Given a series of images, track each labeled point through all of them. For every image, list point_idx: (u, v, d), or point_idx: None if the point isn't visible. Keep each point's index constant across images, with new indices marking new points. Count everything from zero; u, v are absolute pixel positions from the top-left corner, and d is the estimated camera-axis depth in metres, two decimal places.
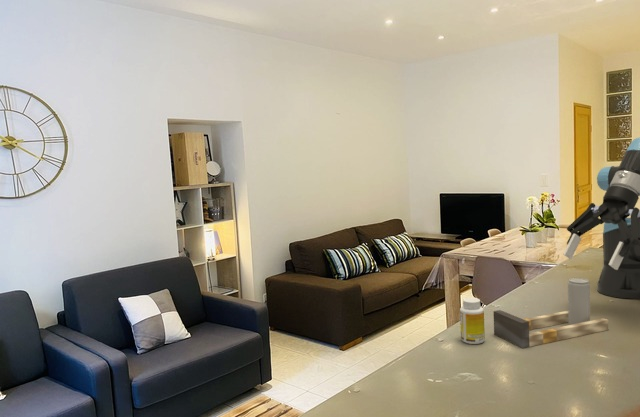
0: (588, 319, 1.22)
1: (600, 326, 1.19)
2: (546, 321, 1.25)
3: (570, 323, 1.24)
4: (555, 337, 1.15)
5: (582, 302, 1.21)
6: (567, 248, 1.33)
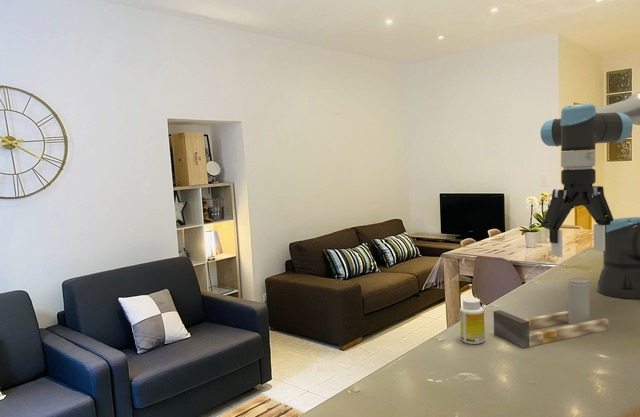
0: (588, 319, 1.22)
1: (600, 326, 1.19)
2: (546, 321, 1.25)
3: (570, 323, 1.24)
4: (555, 337, 1.15)
5: (582, 302, 1.21)
6: (561, 249, 1.19)
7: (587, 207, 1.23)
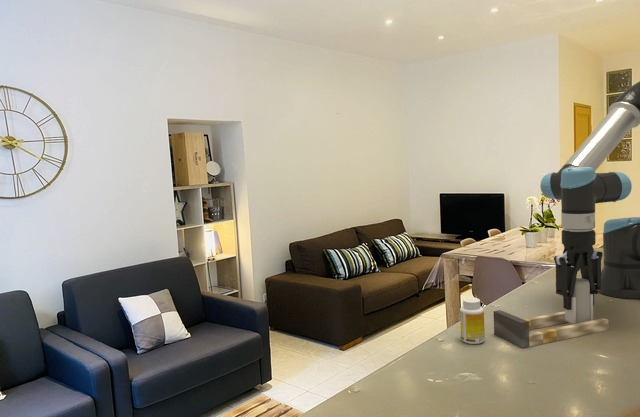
0: (588, 319, 1.22)
1: (600, 326, 1.19)
2: (546, 321, 1.25)
3: (570, 323, 1.24)
4: (555, 337, 1.15)
5: (582, 302, 1.21)
6: (574, 315, 1.21)
7: (582, 269, 1.24)
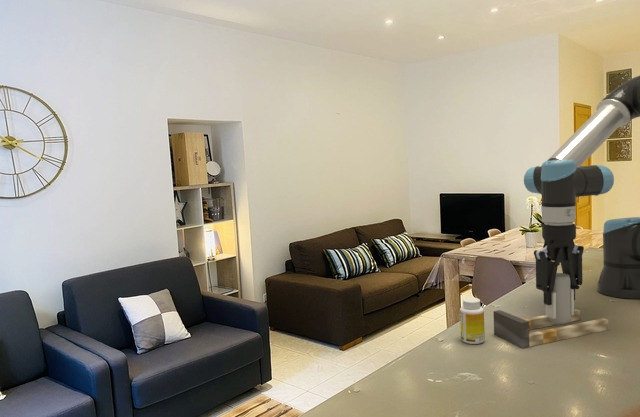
0: (569, 315, 1.20)
1: (600, 326, 1.19)
2: (546, 321, 1.25)
3: (550, 319, 1.21)
4: (555, 337, 1.15)
5: (562, 297, 1.19)
6: (555, 311, 1.19)
7: (562, 264, 1.21)
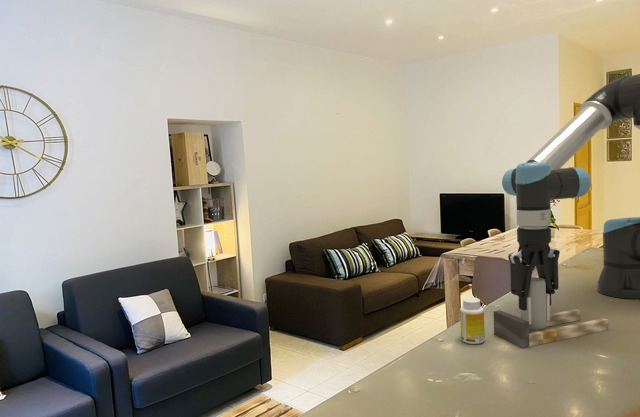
0: (544, 320, 1.17)
1: (600, 326, 1.19)
2: (546, 321, 1.25)
3: None
4: (555, 337, 1.15)
5: (537, 302, 1.16)
6: (530, 316, 1.17)
7: (538, 268, 1.19)
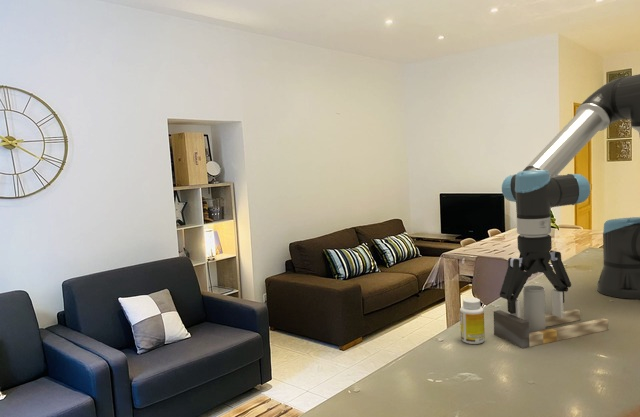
0: (544, 328, 1.17)
1: (600, 326, 1.19)
2: (546, 321, 1.25)
3: None
4: (555, 337, 1.15)
5: (537, 311, 1.17)
6: None
7: (544, 273, 1.20)
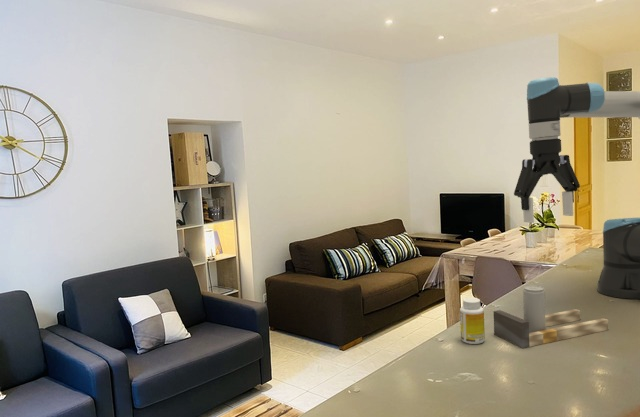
0: (544, 328, 1.17)
1: (600, 326, 1.19)
2: (546, 321, 1.25)
3: None
4: (555, 337, 1.15)
5: (537, 311, 1.17)
6: (532, 215, 1.26)
7: (555, 175, 1.30)
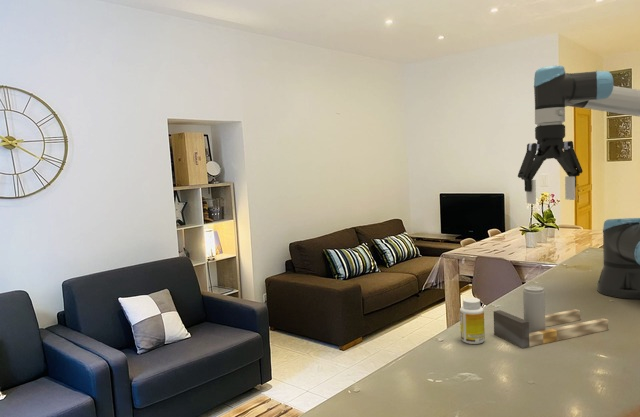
0: (544, 328, 1.17)
1: (600, 326, 1.19)
2: (546, 321, 1.25)
3: None
4: (555, 337, 1.15)
5: (537, 311, 1.17)
6: (534, 196, 1.32)
7: (559, 160, 1.36)
